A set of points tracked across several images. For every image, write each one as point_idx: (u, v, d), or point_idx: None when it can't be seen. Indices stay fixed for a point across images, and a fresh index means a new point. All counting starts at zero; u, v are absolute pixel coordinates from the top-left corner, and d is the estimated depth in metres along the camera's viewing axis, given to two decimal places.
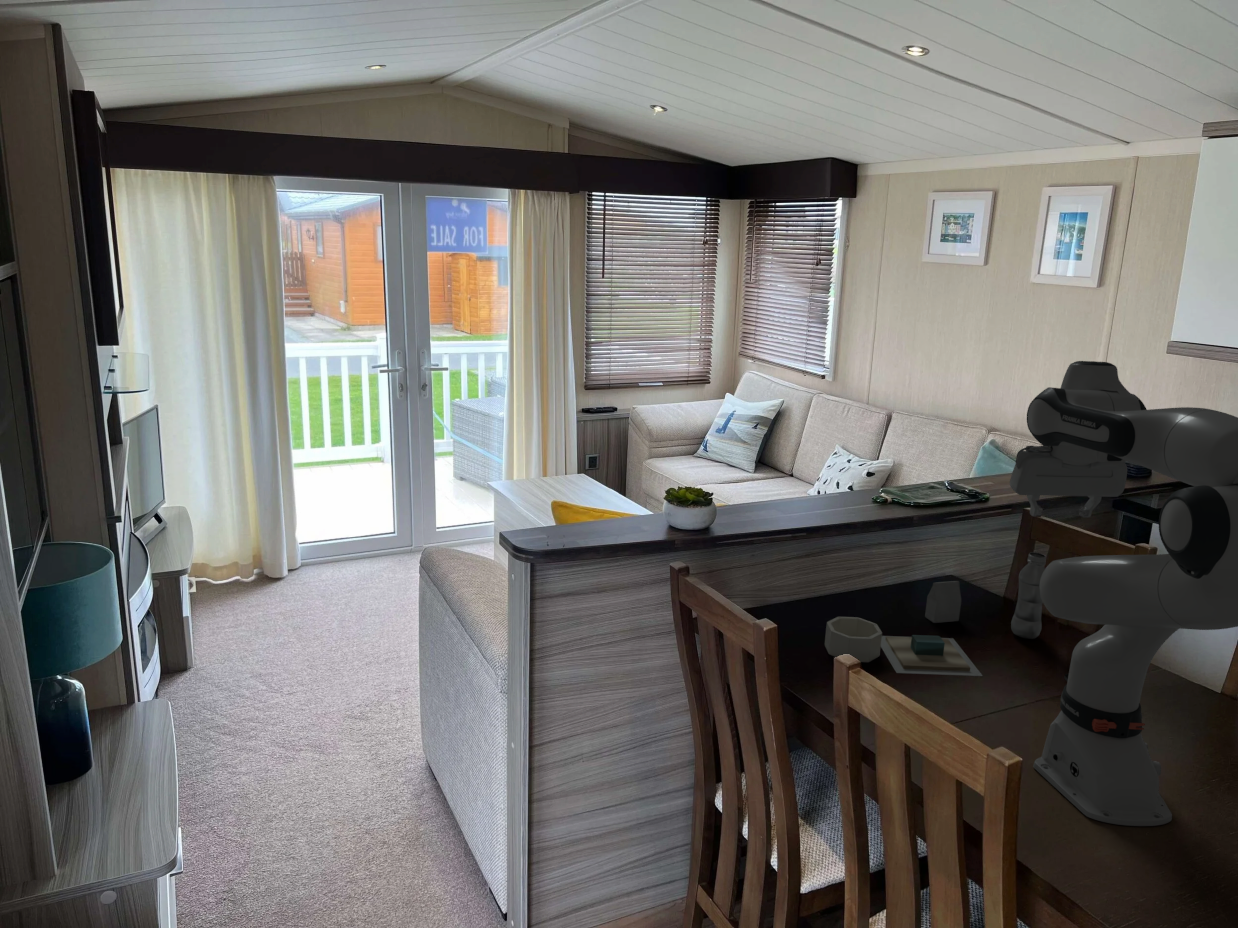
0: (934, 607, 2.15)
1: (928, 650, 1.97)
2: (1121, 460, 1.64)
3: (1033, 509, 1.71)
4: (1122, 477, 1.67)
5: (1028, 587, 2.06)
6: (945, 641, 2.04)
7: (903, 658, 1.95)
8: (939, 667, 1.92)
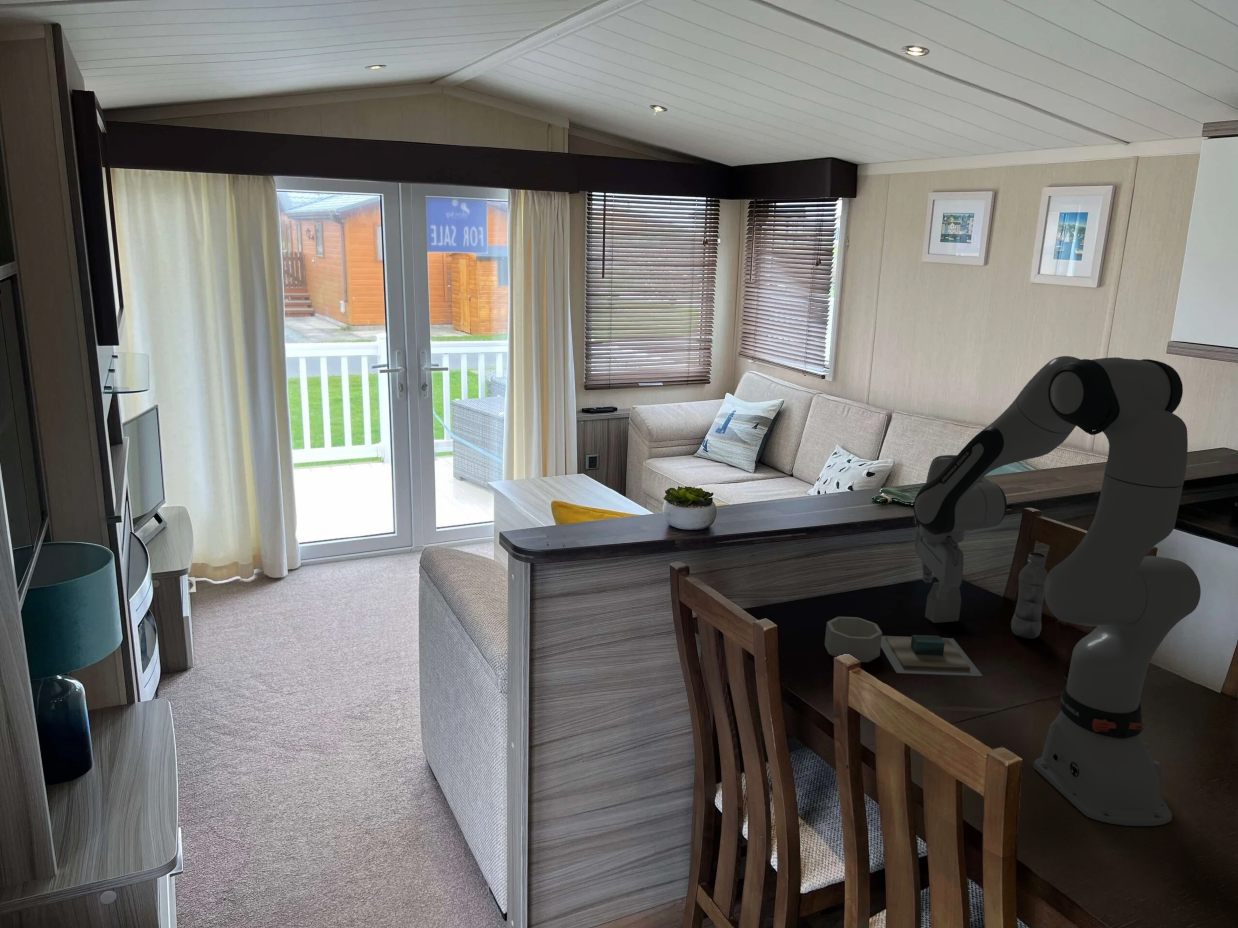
0: (934, 607, 2.15)
1: (928, 650, 1.97)
2: None
3: (945, 594, 1.90)
4: None
5: (1028, 587, 2.06)
6: (945, 641, 2.04)
7: (903, 658, 1.95)
8: (939, 667, 1.92)
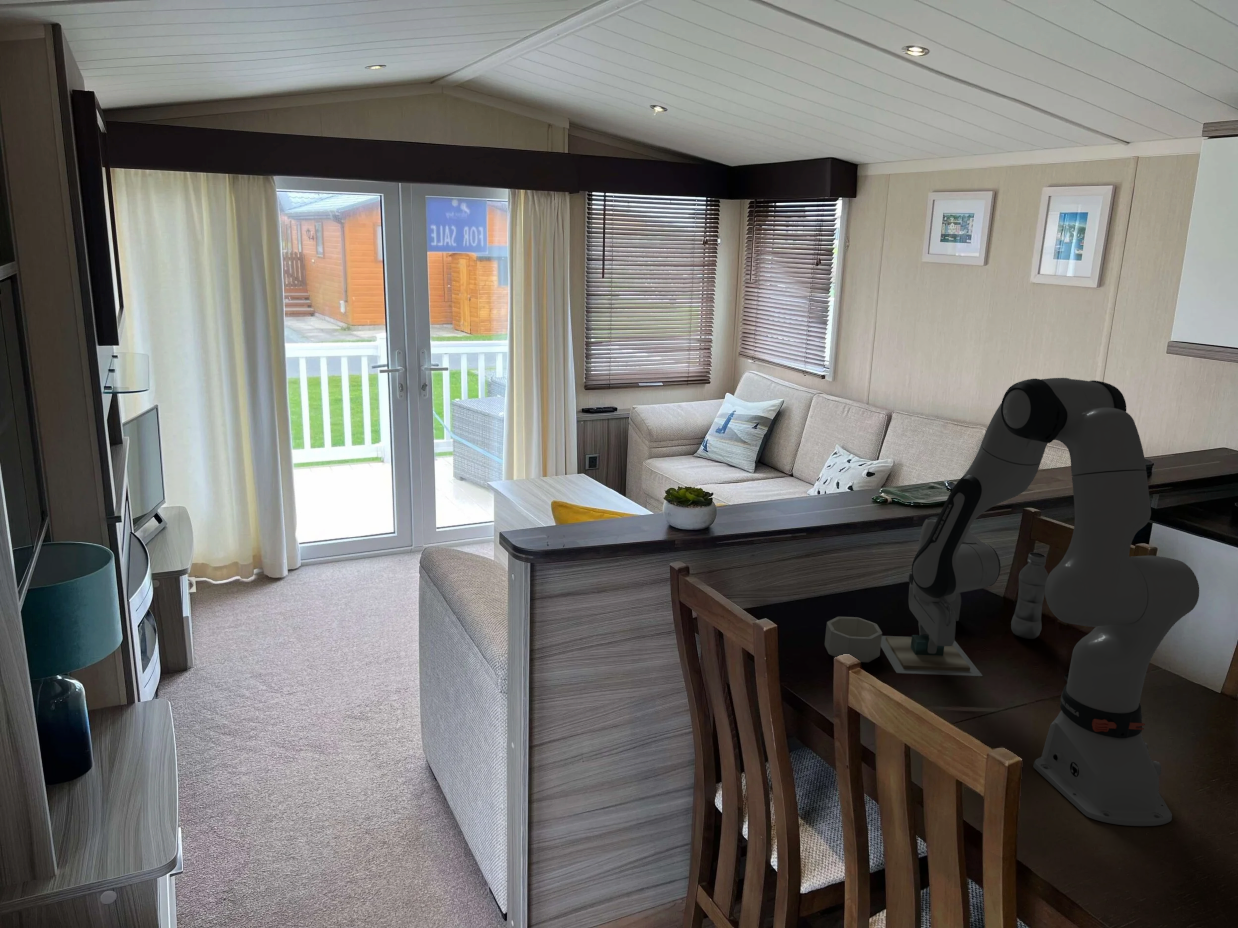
0: None
1: None
2: None
3: (934, 647, 1.95)
4: None
5: (1028, 587, 2.06)
6: None
7: (903, 658, 1.95)
8: (939, 667, 1.92)
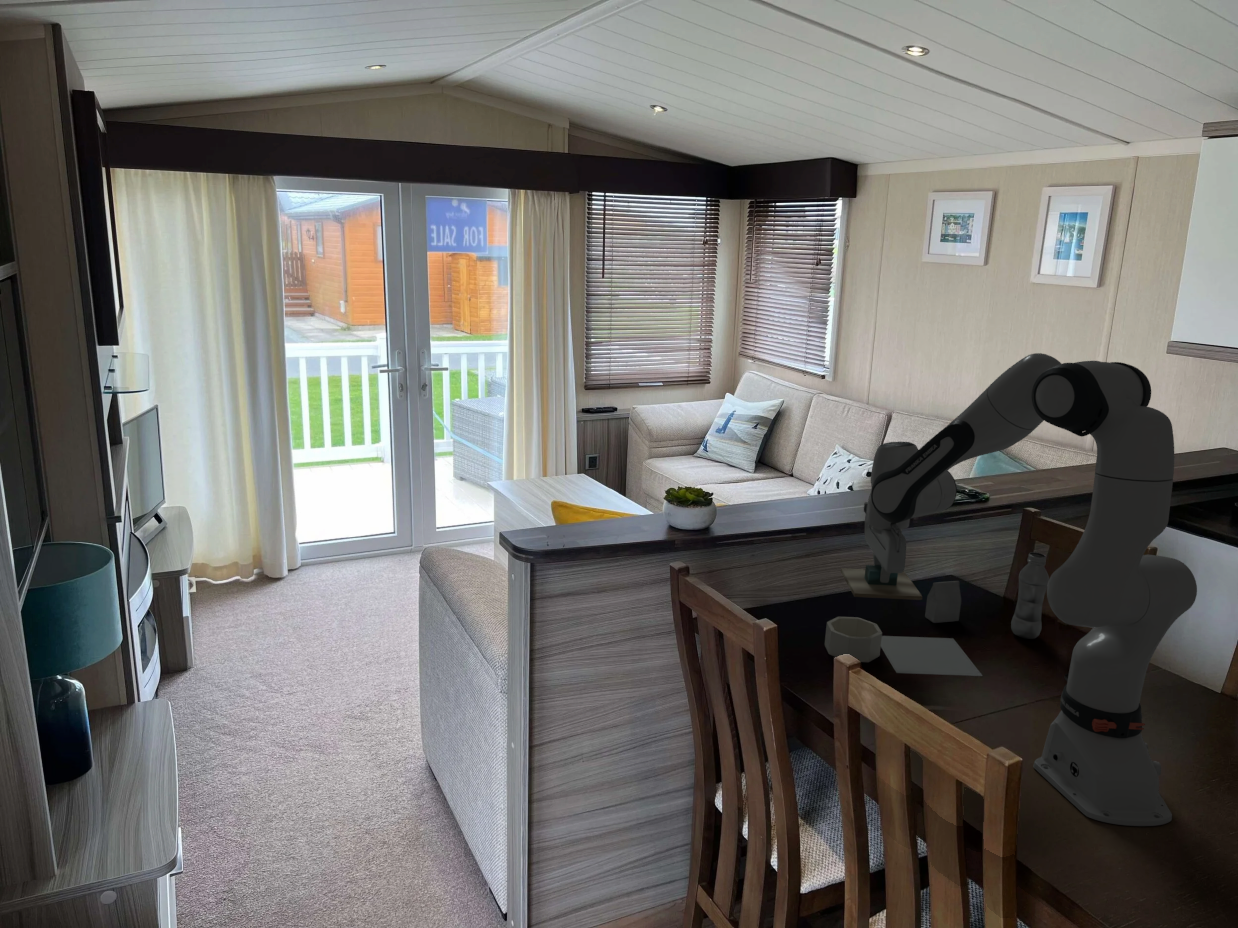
0: (934, 607, 2.15)
1: None
2: None
3: (887, 576, 1.92)
4: None
5: (1028, 587, 2.06)
6: (901, 573, 2.01)
7: (855, 587, 1.92)
8: (891, 595, 1.89)
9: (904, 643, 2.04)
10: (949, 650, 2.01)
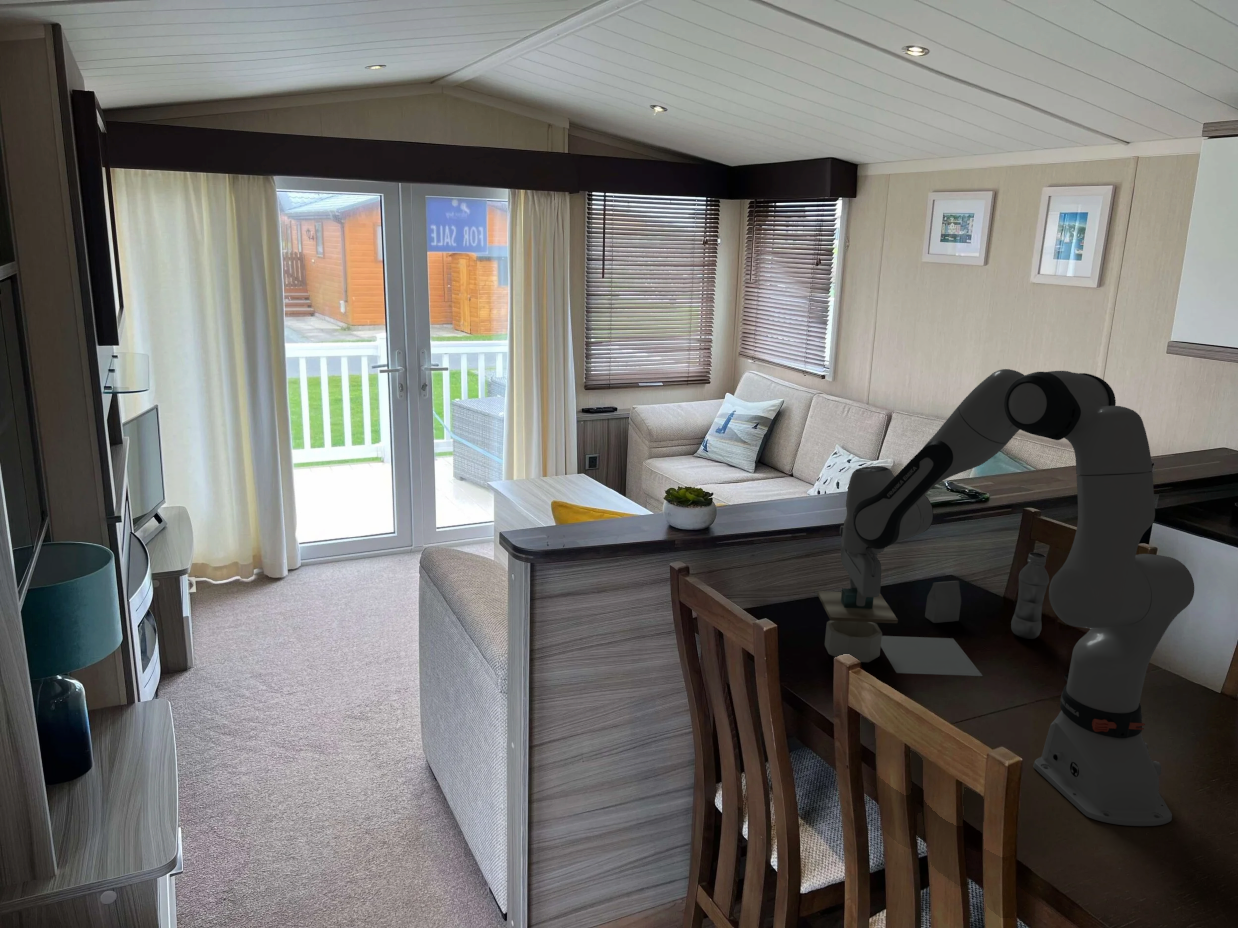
0: (934, 607, 2.15)
1: None
2: None
3: (863, 600, 1.94)
4: None
5: (1028, 587, 2.06)
6: None
7: (831, 611, 1.94)
8: (866, 619, 1.91)
9: (904, 643, 2.04)
10: (949, 650, 2.01)
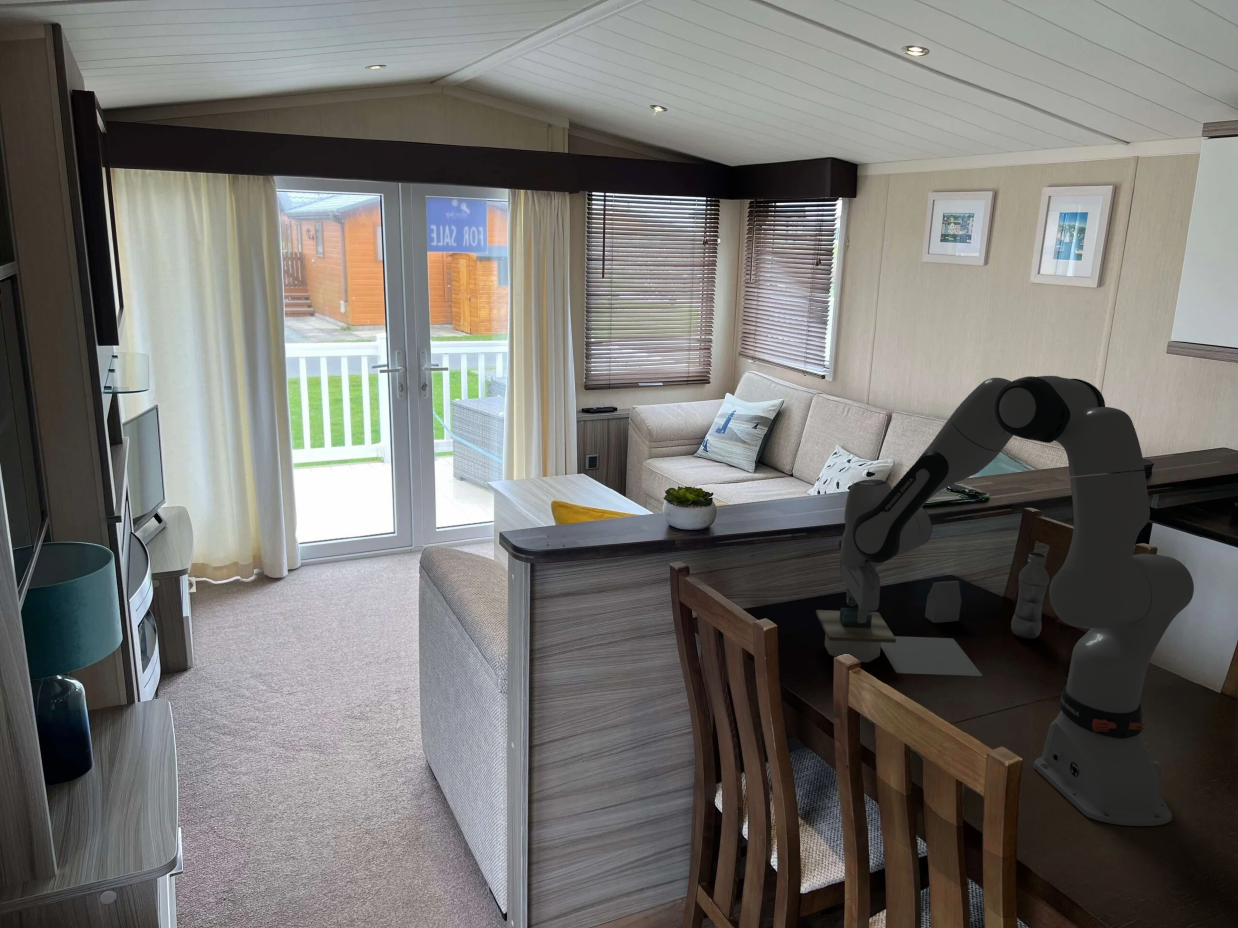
0: (934, 607, 2.15)
1: (856, 622, 1.96)
2: None
3: (864, 617, 1.92)
4: None
5: (1028, 587, 2.06)
6: (875, 614, 2.04)
7: (830, 630, 1.95)
8: (865, 639, 1.92)
9: (904, 643, 2.04)
10: (949, 650, 2.01)
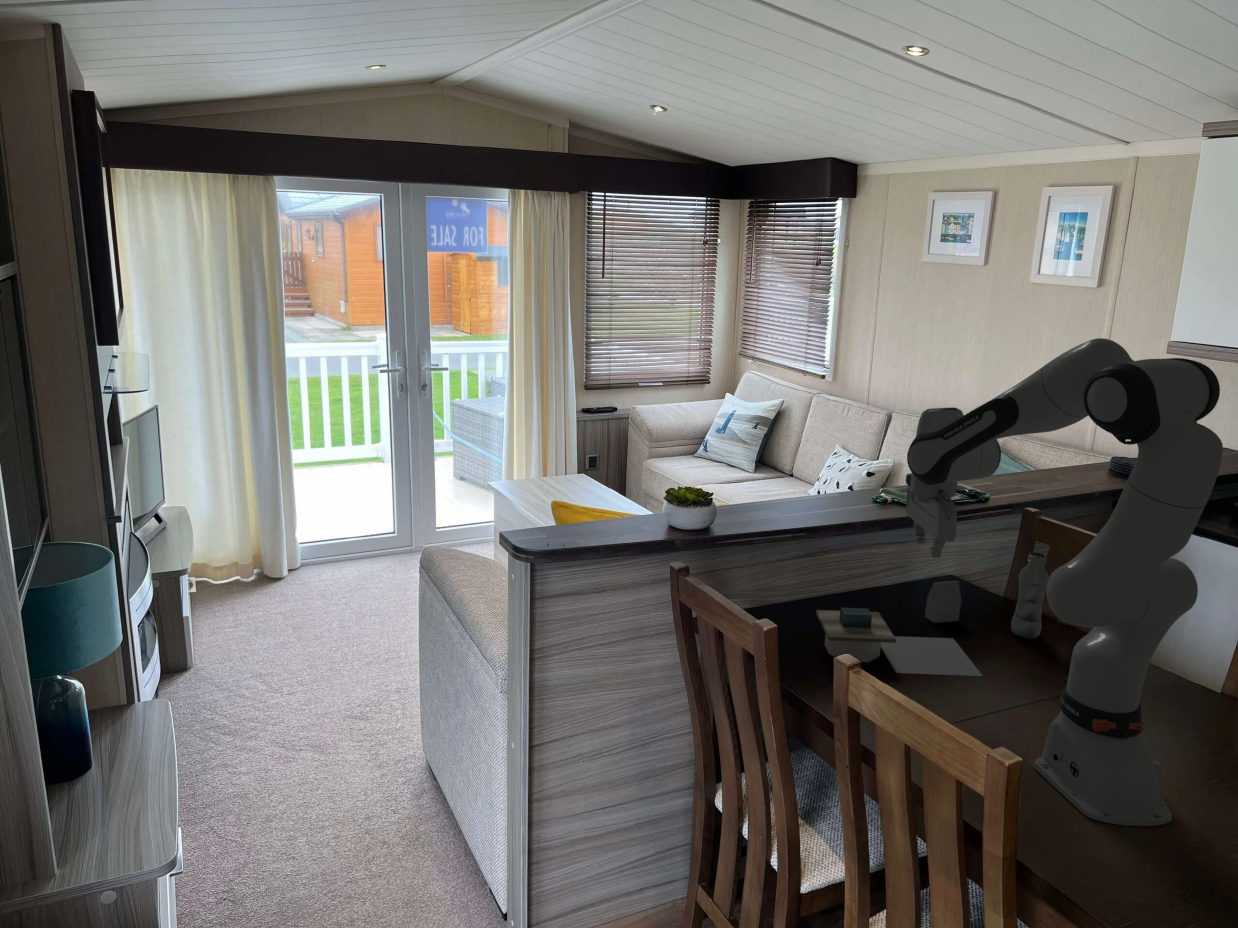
0: (934, 607, 2.15)
1: (856, 622, 1.96)
2: None
3: (939, 551, 1.84)
4: None
5: (1028, 587, 2.06)
6: (875, 614, 2.04)
7: (830, 630, 1.95)
8: (865, 639, 1.92)
9: (904, 643, 2.04)
10: (949, 650, 2.01)
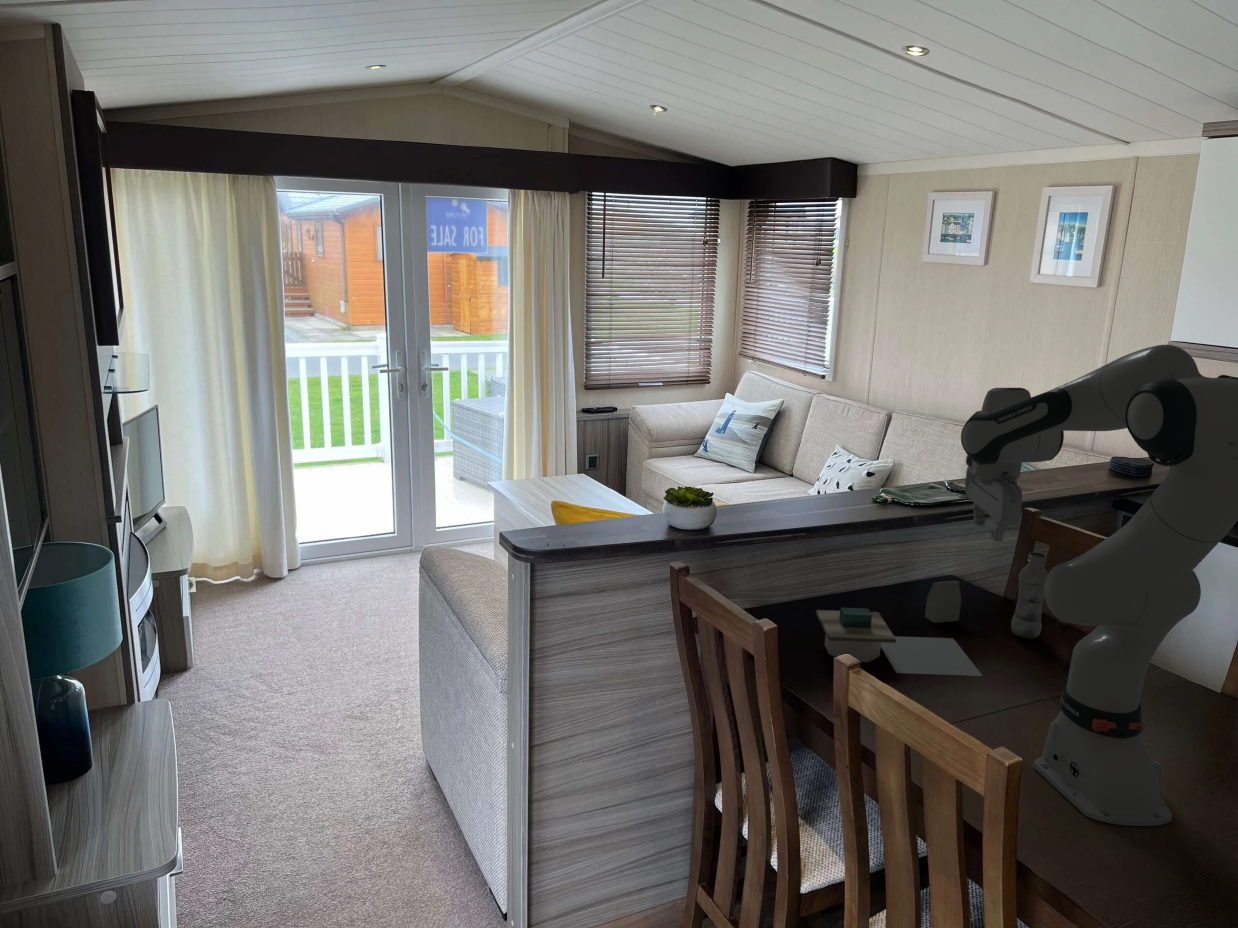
0: (934, 607, 2.15)
1: (856, 622, 1.96)
2: None
3: (1000, 534, 1.80)
4: None
5: (1028, 587, 2.06)
6: (875, 614, 2.04)
7: (830, 630, 1.95)
8: (865, 639, 1.92)
9: (904, 643, 2.04)
10: (949, 650, 2.01)
